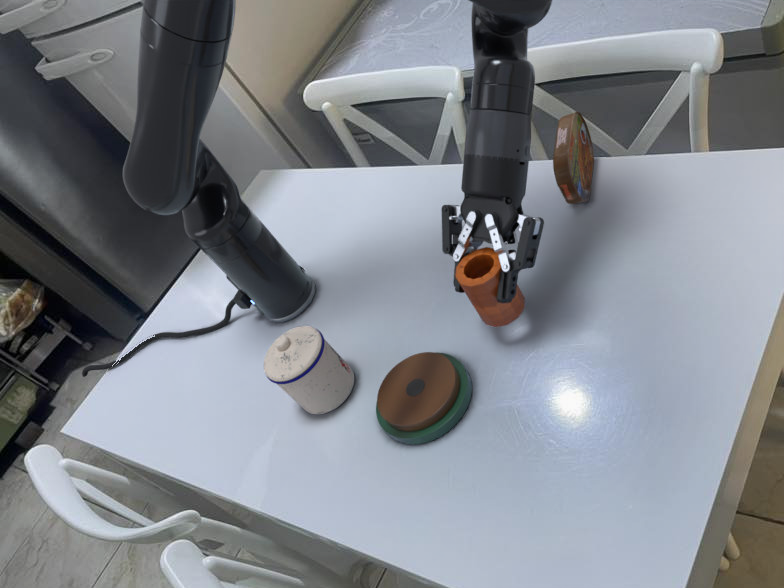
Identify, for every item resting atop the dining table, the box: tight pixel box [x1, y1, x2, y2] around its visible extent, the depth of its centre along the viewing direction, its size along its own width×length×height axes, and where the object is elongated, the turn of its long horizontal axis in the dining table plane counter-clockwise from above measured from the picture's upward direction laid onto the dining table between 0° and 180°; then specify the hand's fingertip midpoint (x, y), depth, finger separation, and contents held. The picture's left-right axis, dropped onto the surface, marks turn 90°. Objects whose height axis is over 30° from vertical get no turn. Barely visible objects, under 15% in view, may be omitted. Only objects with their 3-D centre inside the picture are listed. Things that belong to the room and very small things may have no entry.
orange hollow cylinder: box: [455, 246, 526, 328], centre depth 86 cm, size 6×6×8 cm
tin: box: [552, 111, 595, 205], centre depth 101 cm, size 15×3×8 cm, turn 168°
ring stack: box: [375, 351, 473, 445], centre depth 89 cm, size 13×13×3 cm
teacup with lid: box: [263, 325, 355, 415], centre depth 95 cm, size 12×9×12 cm
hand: (483, 296), depth 86 cm, fingers closed on orange hollow cylinder, 6 cm apart
